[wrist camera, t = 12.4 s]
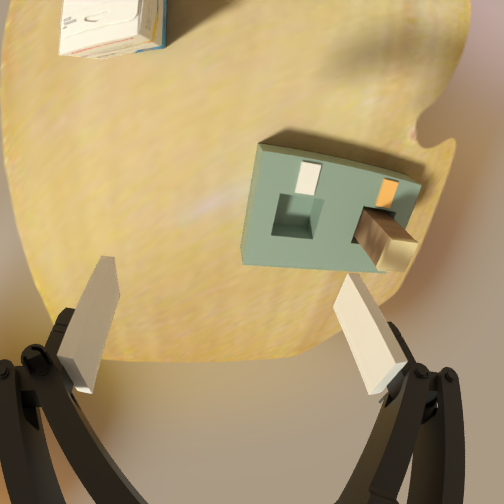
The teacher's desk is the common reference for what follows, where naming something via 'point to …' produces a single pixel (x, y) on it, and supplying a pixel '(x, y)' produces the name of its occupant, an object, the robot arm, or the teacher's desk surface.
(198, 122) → the teacher's desk surface
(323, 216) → the socket board
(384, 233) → the plug
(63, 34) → the ink box
